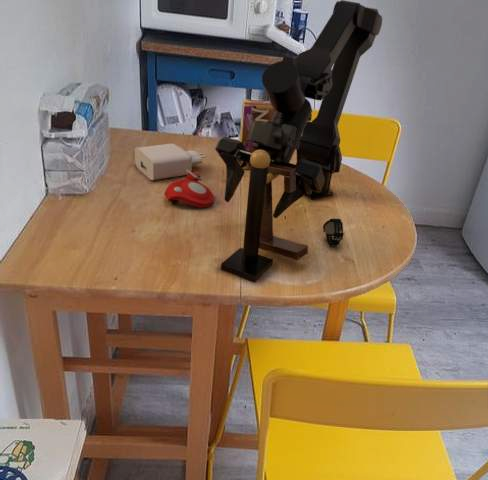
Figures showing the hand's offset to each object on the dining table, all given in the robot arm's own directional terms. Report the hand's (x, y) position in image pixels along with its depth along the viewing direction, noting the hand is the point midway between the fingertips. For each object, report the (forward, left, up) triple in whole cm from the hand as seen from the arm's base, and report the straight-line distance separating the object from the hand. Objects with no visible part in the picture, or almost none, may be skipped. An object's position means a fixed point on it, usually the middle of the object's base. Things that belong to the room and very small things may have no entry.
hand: (249, 209), depth 83 cm
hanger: (-4, +5, -6) cm, 9 cm away
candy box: (-24, -32, -8) cm, 40 cm away
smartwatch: (-16, +5, -8) cm, 19 cm away
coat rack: (+1, +3, -8) cm, 9 cm away
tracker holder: (-2, -23, -8) cm, 24 cm away
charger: (-5, -37, -8) cm, 38 cm away
